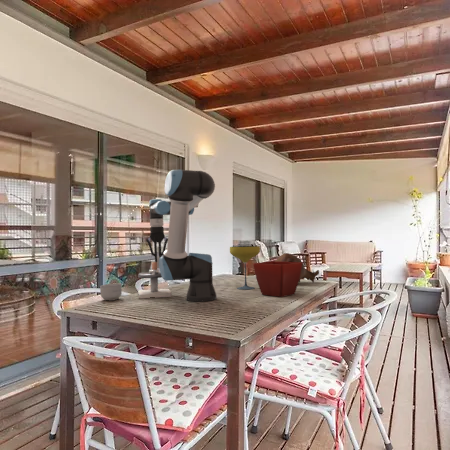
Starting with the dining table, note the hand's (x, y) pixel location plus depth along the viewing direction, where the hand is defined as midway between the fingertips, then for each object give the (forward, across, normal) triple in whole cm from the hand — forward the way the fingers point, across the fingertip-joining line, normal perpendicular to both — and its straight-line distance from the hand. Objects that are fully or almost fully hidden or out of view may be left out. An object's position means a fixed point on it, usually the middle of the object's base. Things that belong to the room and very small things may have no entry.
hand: (158, 267), depth 218 cm
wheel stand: (+14, -3, -6) cm, 16 cm away
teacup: (+14, -25, -11) cm, 31 cm away
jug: (+16, +87, +8) cm, 89 cm away
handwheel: (+4, -3, -6) cm, 8 cm away
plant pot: (+16, +60, -31) cm, 69 cm away
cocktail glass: (+16, +51, -1) cm, 53 cm away
